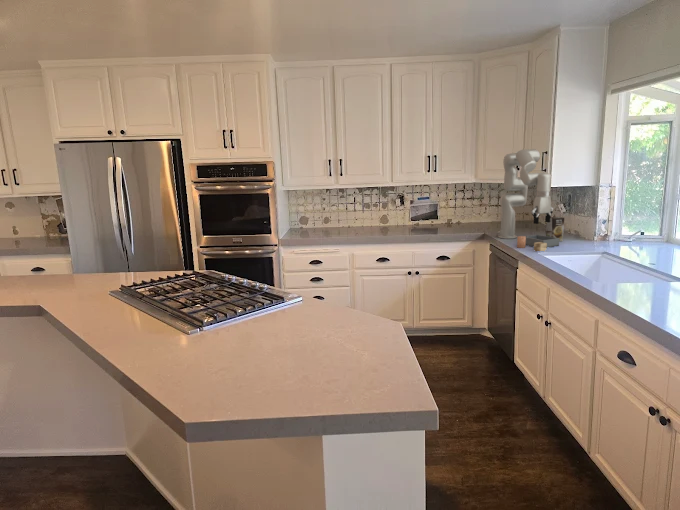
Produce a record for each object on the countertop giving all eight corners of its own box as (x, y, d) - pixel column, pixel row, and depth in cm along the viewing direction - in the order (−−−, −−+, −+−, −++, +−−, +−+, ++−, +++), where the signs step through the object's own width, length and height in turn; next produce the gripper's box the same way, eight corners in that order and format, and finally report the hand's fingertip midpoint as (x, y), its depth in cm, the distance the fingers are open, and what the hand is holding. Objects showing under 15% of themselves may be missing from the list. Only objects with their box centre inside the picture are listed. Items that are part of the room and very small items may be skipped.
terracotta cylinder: (515, 247, 289) (515, 236, 288) (521, 246, 291) (521, 235, 290) (521, 248, 285) (521, 237, 284) (527, 247, 287) (527, 236, 286)
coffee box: (551, 242, 300) (553, 218, 296) (545, 240, 306) (546, 217, 303) (563, 241, 302) (565, 217, 299) (556, 239, 308) (558, 216, 305)
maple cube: (533, 250, 277) (534, 242, 276) (539, 249, 279) (540, 241, 278) (540, 252, 273) (540, 244, 272) (546, 251, 275) (546, 243, 274)
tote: (520, 244, 299) (521, 236, 297) (536, 241, 304) (536, 234, 303) (543, 248, 282) (543, 240, 281) (558, 246, 288) (559, 238, 287)
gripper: (548, 193, 276) (547, 221, 279) (527, 195, 269) (526, 223, 272) (559, 193, 269) (557, 222, 272) (537, 195, 262) (536, 224, 265)
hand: (541, 222), depth 272 cm, fingers open, 9 cm apart
